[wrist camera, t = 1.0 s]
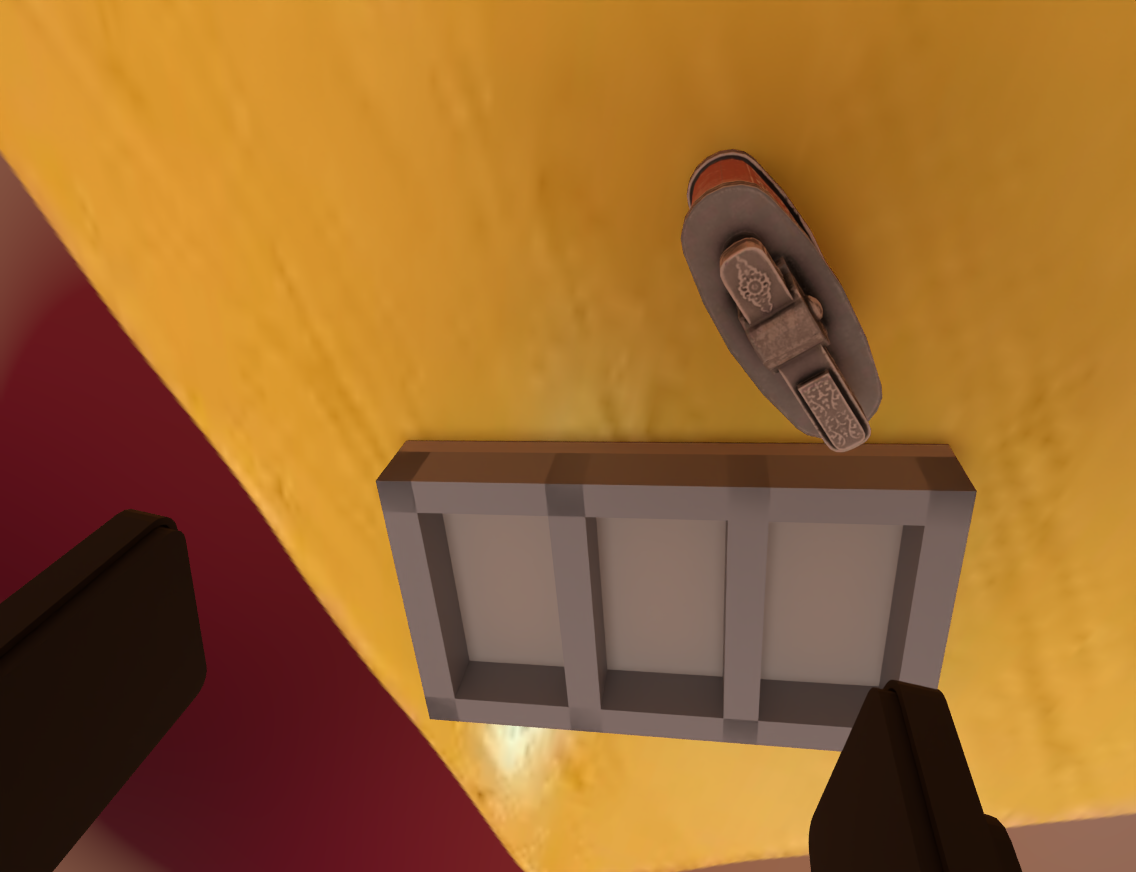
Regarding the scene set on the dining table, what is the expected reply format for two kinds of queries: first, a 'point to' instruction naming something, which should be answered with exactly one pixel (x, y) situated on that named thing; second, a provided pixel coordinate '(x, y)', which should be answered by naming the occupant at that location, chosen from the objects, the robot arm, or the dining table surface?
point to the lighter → (778, 301)
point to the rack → (675, 582)
